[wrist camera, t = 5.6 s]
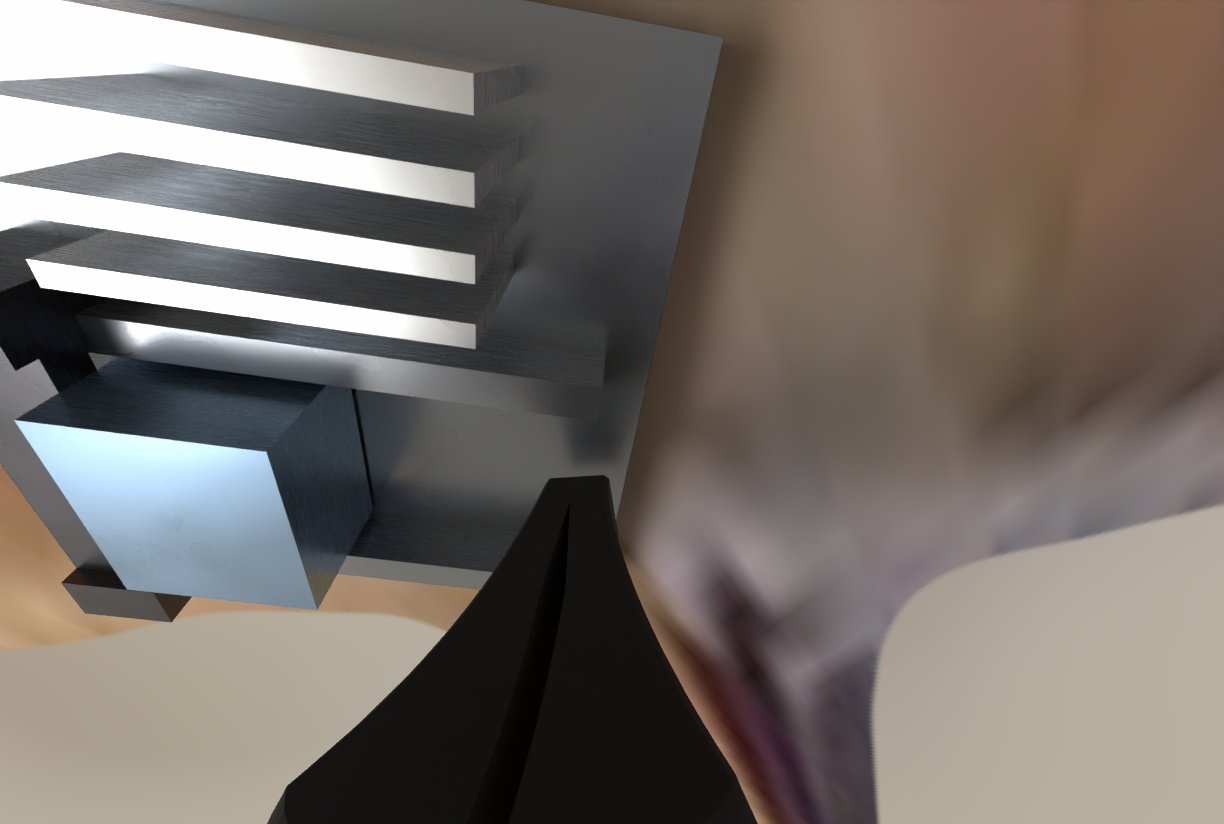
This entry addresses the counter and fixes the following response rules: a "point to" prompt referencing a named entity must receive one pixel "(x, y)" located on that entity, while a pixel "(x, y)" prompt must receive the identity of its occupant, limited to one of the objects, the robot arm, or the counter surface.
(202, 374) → the blue-grey rectangular block
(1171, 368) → the counter surface
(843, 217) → the counter surface
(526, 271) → the heatsink base
